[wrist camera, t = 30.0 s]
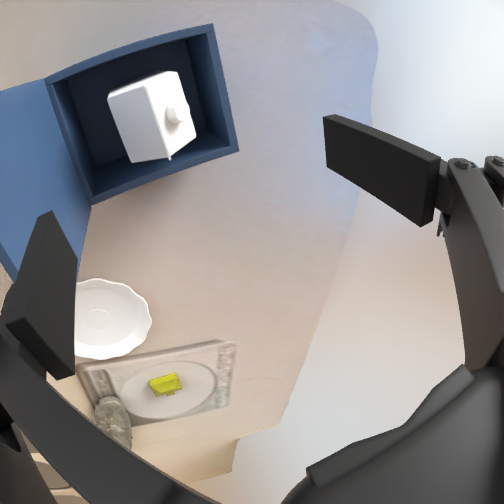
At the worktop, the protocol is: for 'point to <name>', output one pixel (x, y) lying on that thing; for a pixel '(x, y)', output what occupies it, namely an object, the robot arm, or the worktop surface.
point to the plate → (108, 319)
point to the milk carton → (152, 116)
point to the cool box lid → (35, 174)
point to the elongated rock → (114, 419)
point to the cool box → (103, 124)
